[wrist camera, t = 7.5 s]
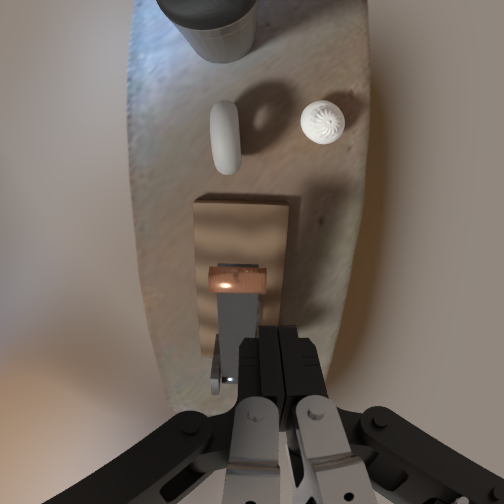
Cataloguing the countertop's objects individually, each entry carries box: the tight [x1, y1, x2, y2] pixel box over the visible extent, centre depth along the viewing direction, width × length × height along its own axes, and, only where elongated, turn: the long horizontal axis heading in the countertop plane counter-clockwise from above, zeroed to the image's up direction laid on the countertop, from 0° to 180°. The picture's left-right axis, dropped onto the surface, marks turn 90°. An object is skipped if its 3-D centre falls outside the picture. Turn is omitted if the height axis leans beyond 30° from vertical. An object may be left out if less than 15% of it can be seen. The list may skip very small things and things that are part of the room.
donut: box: [210, 100, 241, 175], centre depth 37 cm, size 10×3×10 cm, turn 4°
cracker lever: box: [208, 263, 267, 384], centre depth 42 cm, size 24×6×6 cm, turn 178°
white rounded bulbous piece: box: [301, 100, 345, 144], centre depth 38 cm, size 6×6×7 cm
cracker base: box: [193, 200, 289, 395], centre depth 46 cm, size 30×14×13 cm, turn 178°
